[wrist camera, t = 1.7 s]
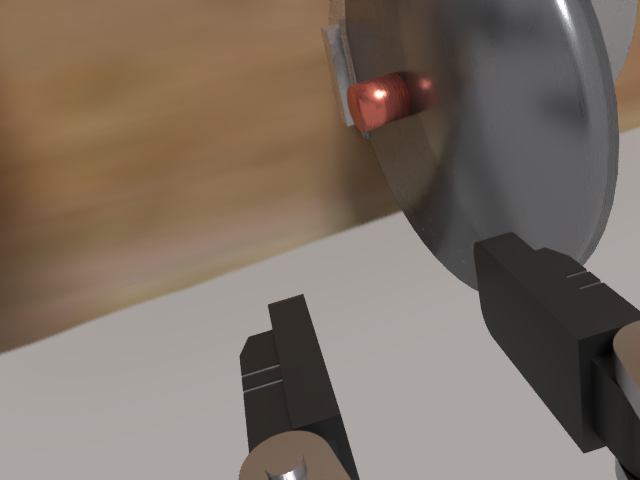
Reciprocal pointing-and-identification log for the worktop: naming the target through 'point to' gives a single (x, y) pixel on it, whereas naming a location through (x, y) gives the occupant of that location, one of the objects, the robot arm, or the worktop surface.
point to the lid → (487, 119)
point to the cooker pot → (609, 4)
